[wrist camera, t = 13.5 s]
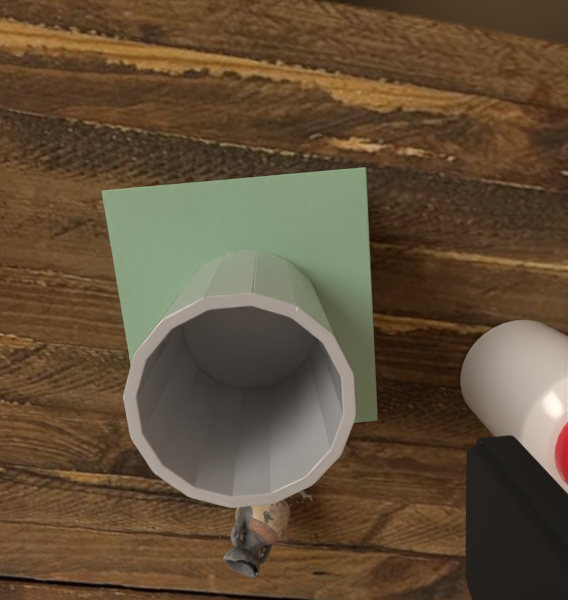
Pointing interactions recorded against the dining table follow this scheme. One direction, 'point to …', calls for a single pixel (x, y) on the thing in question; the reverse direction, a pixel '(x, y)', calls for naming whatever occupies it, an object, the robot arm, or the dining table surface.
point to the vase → (257, 534)
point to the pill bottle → (522, 389)
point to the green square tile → (251, 236)
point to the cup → (241, 385)
